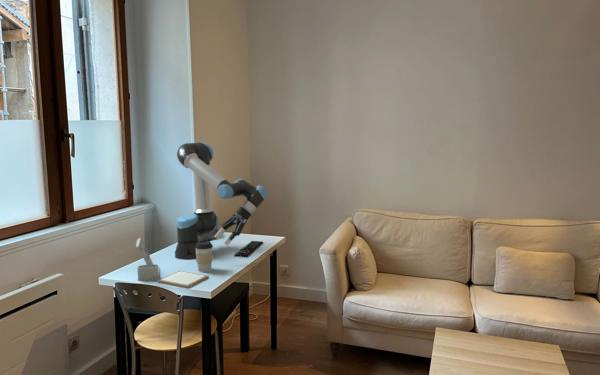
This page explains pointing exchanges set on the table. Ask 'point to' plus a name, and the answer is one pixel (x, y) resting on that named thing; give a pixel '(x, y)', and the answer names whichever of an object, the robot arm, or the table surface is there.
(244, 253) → the remote control
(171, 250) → the table surface
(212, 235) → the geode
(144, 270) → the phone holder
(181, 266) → the table surface
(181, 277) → the notebook
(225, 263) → the table surface
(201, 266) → the coffee cup
